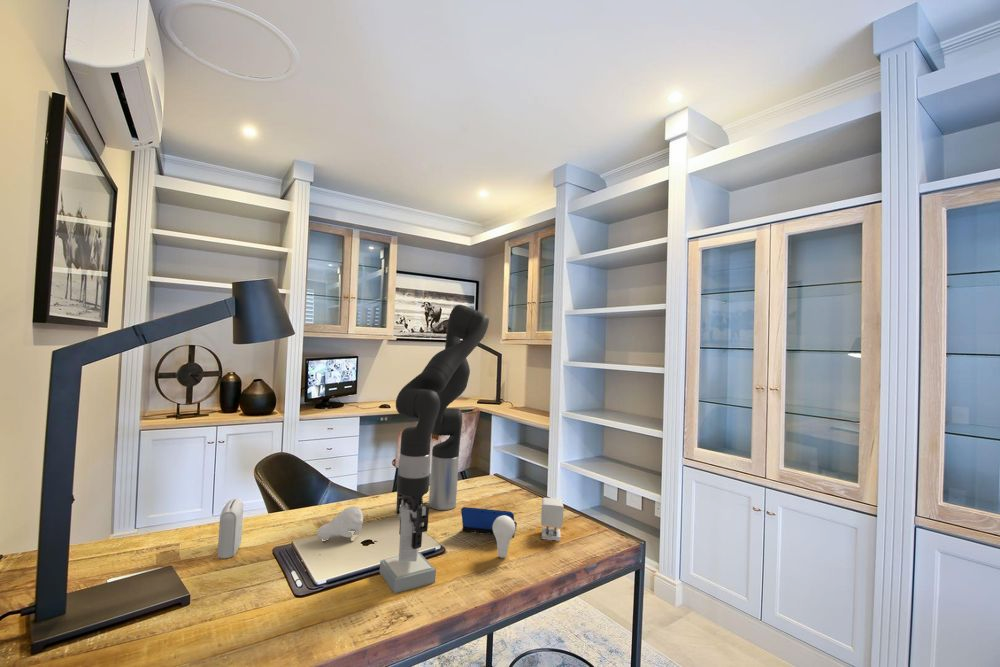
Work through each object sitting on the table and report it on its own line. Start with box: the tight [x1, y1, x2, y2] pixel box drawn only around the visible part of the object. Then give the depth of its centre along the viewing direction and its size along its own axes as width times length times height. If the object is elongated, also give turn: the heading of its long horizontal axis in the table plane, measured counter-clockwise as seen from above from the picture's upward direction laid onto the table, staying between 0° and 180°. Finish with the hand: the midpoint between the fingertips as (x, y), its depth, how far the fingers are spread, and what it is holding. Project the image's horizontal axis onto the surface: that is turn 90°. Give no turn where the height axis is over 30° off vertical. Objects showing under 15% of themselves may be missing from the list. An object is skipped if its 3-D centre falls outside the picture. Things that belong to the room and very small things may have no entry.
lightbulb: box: [492, 515, 516, 559], centre depth 121 cm, size 6×6×11 cm
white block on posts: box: [540, 497, 564, 542], centre depth 136 cm, size 6×7×10 cm
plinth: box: [379, 551, 437, 594], centre depth 108 cm, size 10×10×3 cm
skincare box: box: [398, 505, 420, 561], centre depth 108 cm, size 6×4×12 cm
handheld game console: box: [460, 506, 518, 538], centre depth 137 cm, size 16×13×9 cm
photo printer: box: [217, 498, 244, 559], centre depth 116 cm, size 10×4×12 cm, turn 20°
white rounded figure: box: [317, 506, 364, 542], centre depth 126 cm, size 6×8×12 cm
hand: (409, 541), depth 108 cm, fingers closed on skincare box, 7 cm apart
